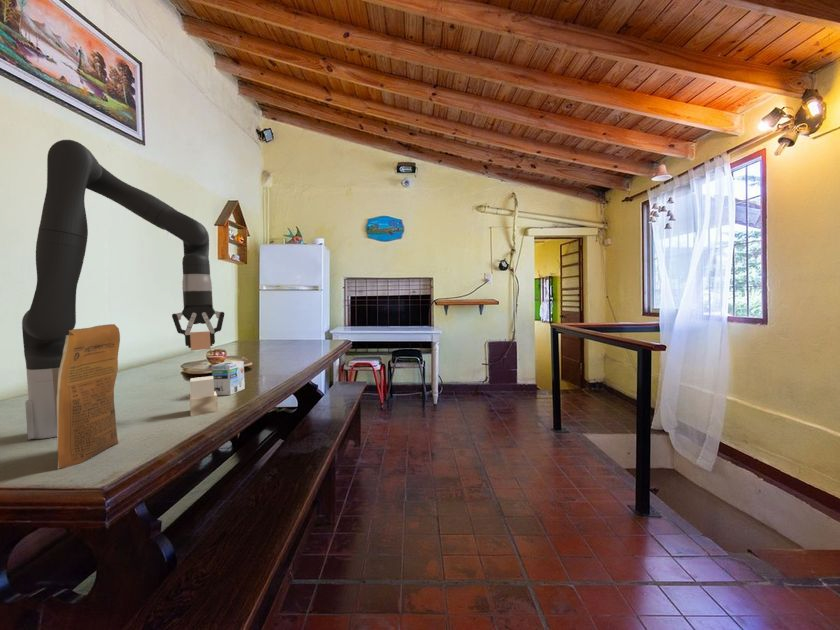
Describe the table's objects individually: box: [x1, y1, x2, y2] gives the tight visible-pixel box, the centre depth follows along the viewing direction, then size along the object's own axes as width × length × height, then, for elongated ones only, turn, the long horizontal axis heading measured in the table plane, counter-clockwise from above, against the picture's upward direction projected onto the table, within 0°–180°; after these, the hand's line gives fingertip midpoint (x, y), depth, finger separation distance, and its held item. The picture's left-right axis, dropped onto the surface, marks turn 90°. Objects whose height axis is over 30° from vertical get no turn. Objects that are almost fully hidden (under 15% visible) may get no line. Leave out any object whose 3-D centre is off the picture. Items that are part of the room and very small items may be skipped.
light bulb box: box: [211, 360, 246, 396], centre depth 138 cm, size 11×7×11 cm, turn 179°
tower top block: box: [189, 375, 214, 399], centre depth 113 cm, size 6×6×5 cm
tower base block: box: [189, 391, 219, 417], centre depth 114 cm, size 7×7×5 cm
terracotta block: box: [190, 330, 212, 351], centre depth 113 cm, size 5×5×5 cm
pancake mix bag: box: [56, 323, 121, 470], centre depth 82 cm, size 7×19×28 cm, turn 7°
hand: (200, 346), depth 113 cm, fingers closed on terracotta block, 5 cm apart
